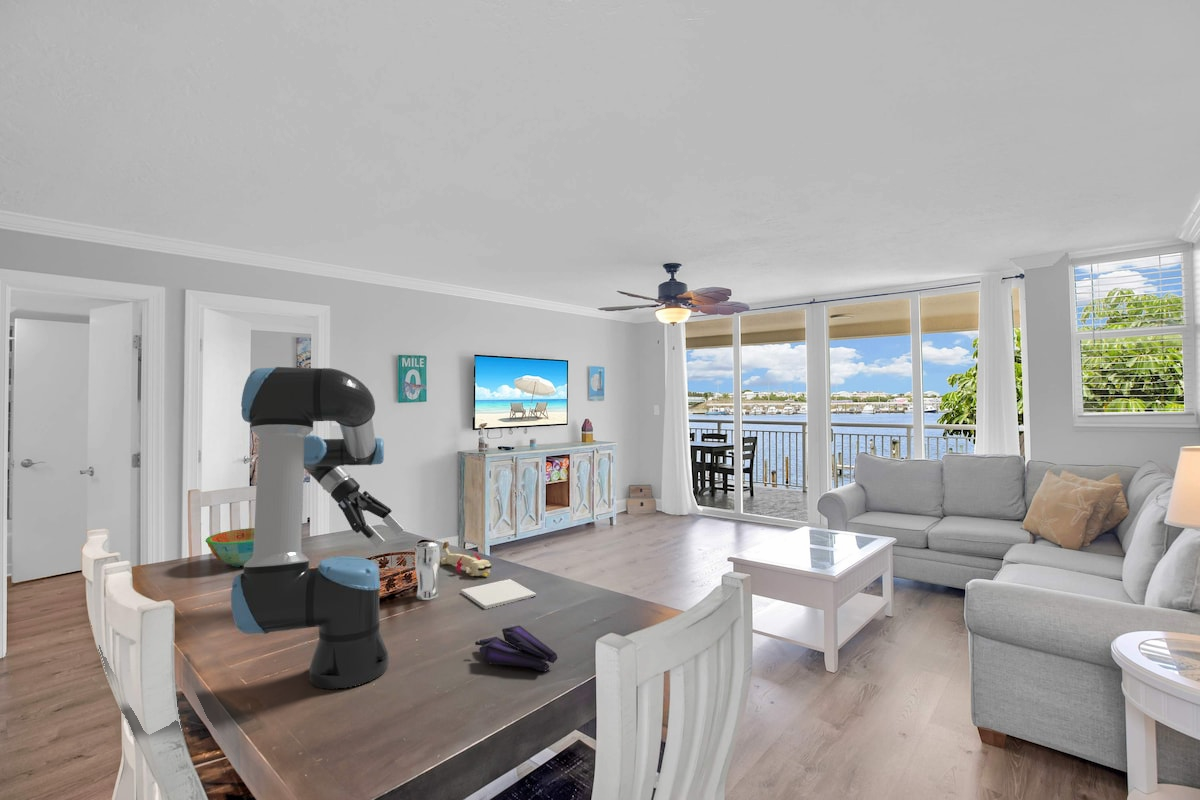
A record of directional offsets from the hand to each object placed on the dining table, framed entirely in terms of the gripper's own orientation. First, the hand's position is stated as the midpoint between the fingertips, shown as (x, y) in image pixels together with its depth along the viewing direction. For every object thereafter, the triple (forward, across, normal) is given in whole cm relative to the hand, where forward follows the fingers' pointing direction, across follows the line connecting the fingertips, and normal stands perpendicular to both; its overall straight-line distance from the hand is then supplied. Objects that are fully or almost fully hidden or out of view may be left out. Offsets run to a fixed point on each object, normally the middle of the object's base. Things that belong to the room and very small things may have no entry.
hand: (391, 538), depth 164 cm
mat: (+34, -2, +10) cm, 35 cm away
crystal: (+43, +38, +19) cm, 60 cm away
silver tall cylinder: (+20, 0, -4) cm, 20 cm away
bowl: (-32, -27, -56) cm, 71 cm away
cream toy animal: (+22, -25, -2) cm, 34 cm away
